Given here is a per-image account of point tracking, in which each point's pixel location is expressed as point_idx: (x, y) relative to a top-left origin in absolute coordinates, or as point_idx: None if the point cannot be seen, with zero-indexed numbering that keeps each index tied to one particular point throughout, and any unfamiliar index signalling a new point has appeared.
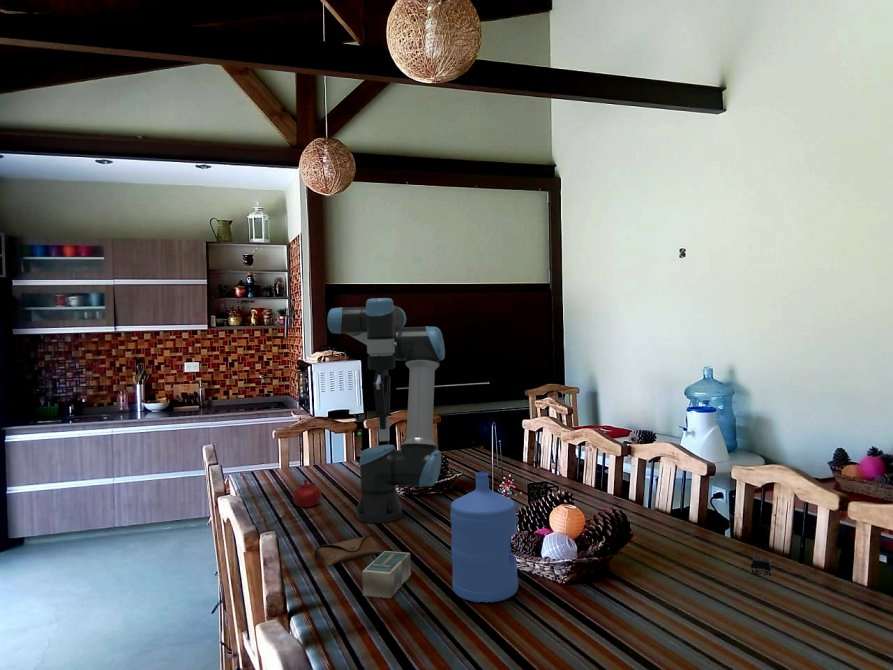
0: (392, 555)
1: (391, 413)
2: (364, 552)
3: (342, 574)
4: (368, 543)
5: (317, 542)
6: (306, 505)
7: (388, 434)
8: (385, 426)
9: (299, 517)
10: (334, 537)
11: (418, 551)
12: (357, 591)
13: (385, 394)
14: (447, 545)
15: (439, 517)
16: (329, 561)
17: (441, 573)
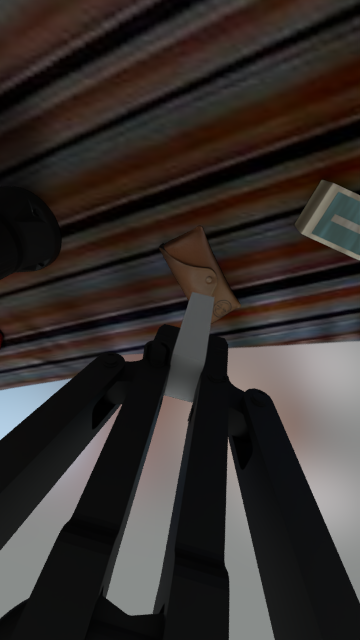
0: (341, 220)
1: (147, 346)
2: (212, 258)
3: (276, 287)
4: (189, 253)
5: (143, 319)
6: (1, 337)
7: (209, 309)
8: (214, 343)
9: (42, 341)
10: (124, 298)
11: (208, 159)
12: (351, 268)
13: (223, 543)
14: (186, 87)
15: (13, 98)
16: (233, 306)
17: (337, 113)
